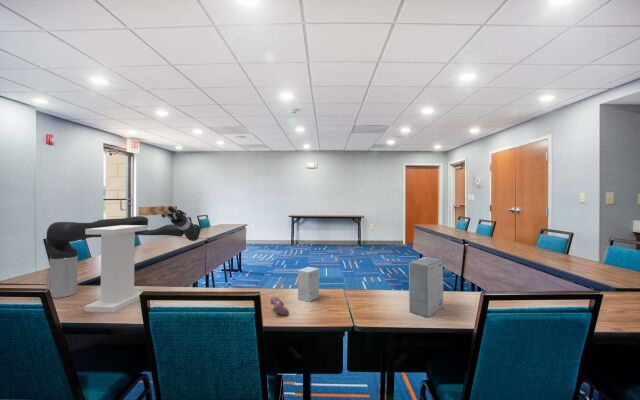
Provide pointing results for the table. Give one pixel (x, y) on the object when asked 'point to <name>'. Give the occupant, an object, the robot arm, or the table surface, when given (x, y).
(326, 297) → the table surface
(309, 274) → the small box
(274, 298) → the purple toy animal
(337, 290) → the table surface
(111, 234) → the plinth
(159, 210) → the baton
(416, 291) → the hard drive box
